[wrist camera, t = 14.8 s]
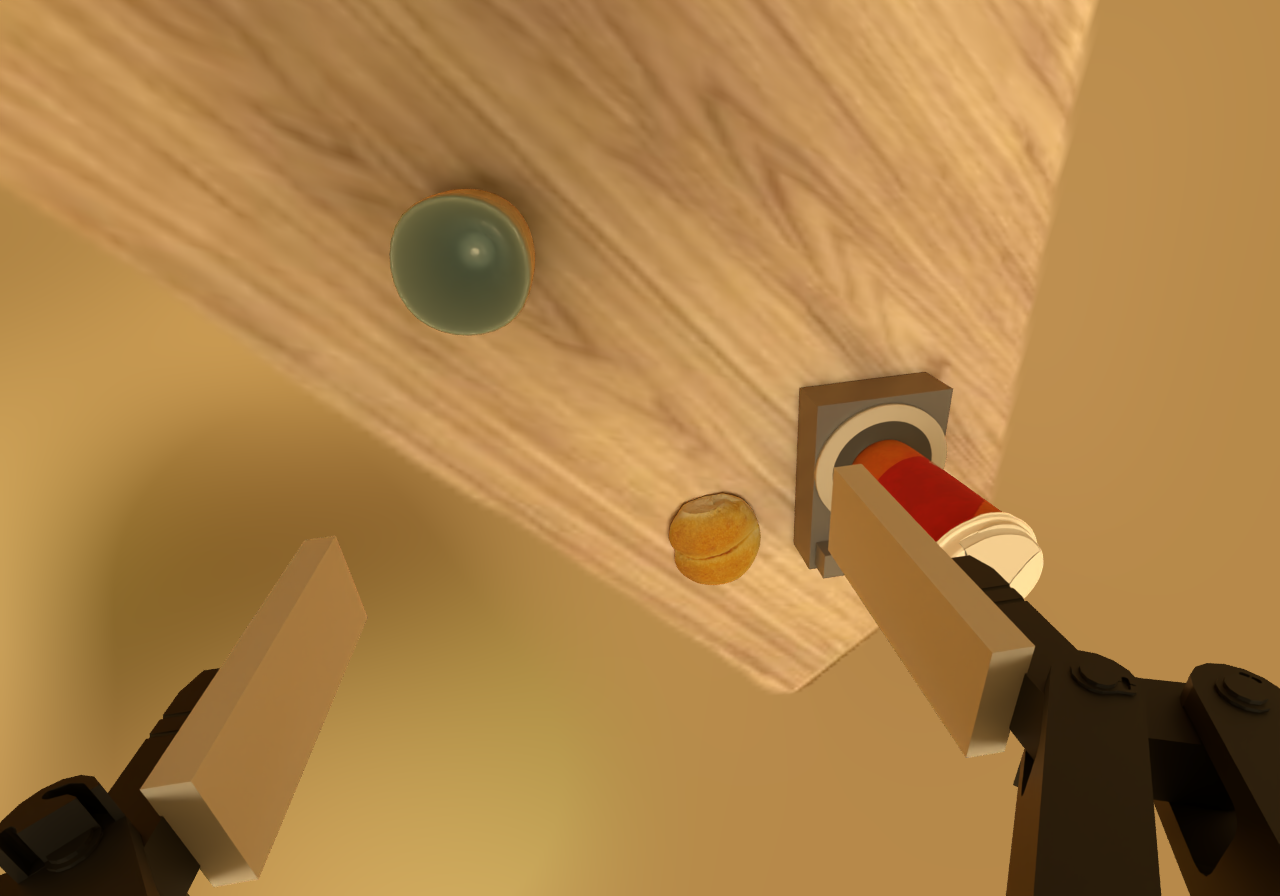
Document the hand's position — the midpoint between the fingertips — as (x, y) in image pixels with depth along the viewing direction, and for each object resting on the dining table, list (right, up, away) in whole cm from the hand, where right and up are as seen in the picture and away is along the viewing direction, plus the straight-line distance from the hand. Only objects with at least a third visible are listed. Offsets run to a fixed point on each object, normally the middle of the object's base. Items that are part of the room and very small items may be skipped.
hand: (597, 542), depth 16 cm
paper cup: (+21, +1, +33) cm, 39 cm away
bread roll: (+8, -5, +40) cm, 41 cm away
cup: (-10, +17, +26) cm, 33 cm away
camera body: (+21, +1, +38) cm, 43 cm away
